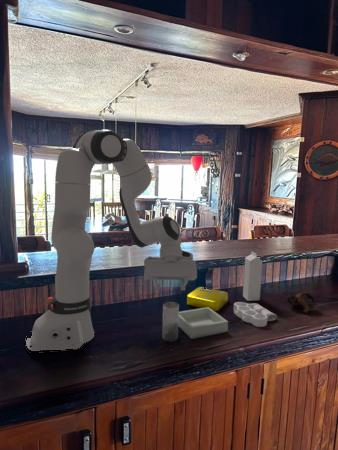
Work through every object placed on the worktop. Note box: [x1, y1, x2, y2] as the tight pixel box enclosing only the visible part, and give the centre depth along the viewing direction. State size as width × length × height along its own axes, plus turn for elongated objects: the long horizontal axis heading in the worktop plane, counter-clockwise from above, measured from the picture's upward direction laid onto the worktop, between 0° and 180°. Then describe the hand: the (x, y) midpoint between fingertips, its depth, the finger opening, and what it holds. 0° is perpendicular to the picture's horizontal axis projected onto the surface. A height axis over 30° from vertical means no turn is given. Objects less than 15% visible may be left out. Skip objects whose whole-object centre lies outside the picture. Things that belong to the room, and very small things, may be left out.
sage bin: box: [178, 307, 229, 340], centre depth 125 cm, size 15×14×4 cm
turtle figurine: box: [285, 291, 317, 313], centre depth 145 cm, size 12×10×8 cm
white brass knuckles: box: [233, 301, 278, 328], centre depth 136 cm, size 3×18×15 cm
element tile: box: [186, 286, 229, 312], centre depth 150 cm, size 15×15×5 cm
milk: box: [242, 250, 263, 302], centre depth 155 cm, size 6×6×22 cm
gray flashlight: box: [161, 301, 180, 343], centre depth 116 cm, size 6×6×13 cm
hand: (170, 289), depth 124 cm, fingers open, 8 cm apart
